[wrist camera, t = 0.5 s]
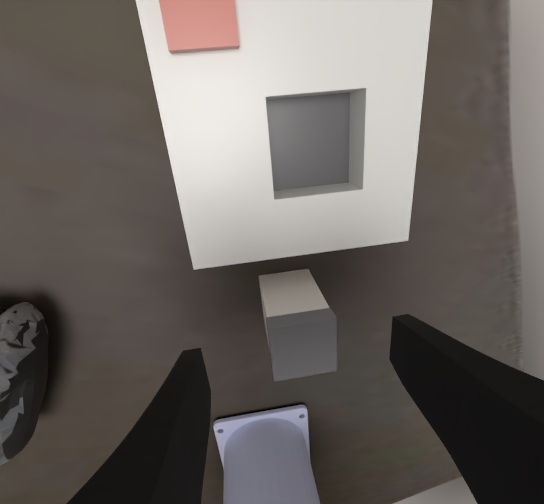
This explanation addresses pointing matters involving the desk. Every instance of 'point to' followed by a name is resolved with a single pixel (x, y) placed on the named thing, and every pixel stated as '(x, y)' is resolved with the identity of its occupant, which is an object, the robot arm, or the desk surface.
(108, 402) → the desk surface
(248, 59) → the socket plate
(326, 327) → the plug
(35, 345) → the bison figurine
